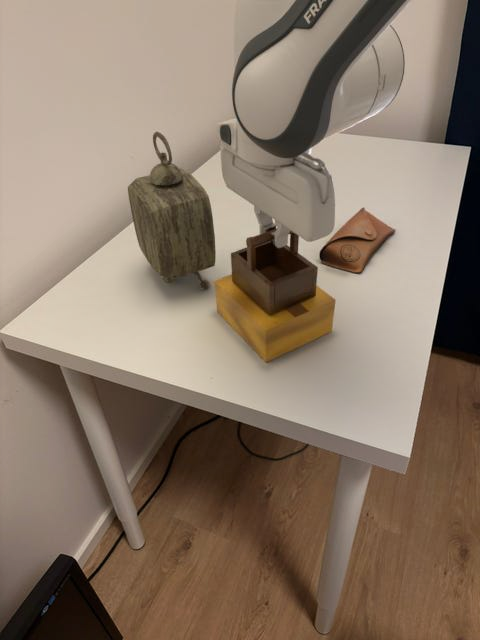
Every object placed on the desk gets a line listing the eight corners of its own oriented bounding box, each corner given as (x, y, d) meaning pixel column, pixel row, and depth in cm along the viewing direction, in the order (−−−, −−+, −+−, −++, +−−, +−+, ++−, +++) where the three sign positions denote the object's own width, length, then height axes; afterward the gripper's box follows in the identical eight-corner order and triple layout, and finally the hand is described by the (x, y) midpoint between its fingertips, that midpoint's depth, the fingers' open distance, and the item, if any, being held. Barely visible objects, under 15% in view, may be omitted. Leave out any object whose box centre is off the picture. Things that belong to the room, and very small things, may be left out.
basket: (315, 296, 69) (320, 237, 63) (269, 316, 66) (270, 256, 60) (275, 264, 76) (276, 208, 70) (232, 281, 73) (228, 224, 67)
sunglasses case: (363, 273, 83) (348, 239, 81) (329, 280, 88) (314, 248, 86) (398, 228, 95) (385, 197, 93) (366, 237, 100) (353, 208, 98)
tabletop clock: (219, 291, 82) (207, 143, 66) (168, 308, 79) (143, 156, 63) (186, 252, 92) (169, 115, 76) (140, 265, 89) (112, 126, 73)
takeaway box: (332, 331, 73) (335, 299, 69) (266, 362, 68) (266, 330, 64) (278, 286, 82) (278, 255, 78) (216, 311, 78) (214, 279, 74)
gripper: (354, 158, 52) (341, 267, 60) (250, 112, 65) (252, 206, 74) (307, 173, 49) (301, 284, 58) (209, 122, 63) (216, 218, 72)
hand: (273, 240), depth 66 cm, fingers closed on basket
